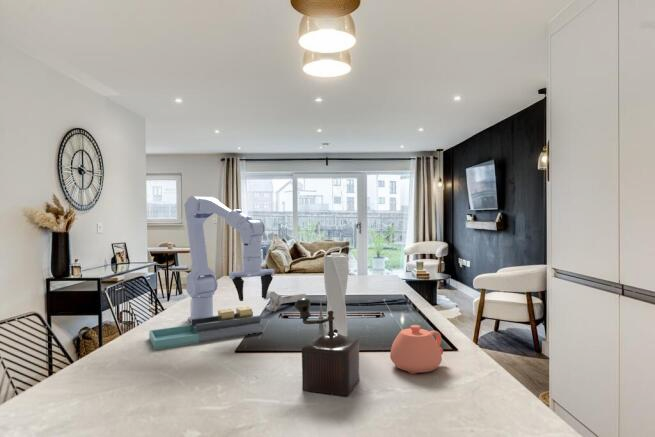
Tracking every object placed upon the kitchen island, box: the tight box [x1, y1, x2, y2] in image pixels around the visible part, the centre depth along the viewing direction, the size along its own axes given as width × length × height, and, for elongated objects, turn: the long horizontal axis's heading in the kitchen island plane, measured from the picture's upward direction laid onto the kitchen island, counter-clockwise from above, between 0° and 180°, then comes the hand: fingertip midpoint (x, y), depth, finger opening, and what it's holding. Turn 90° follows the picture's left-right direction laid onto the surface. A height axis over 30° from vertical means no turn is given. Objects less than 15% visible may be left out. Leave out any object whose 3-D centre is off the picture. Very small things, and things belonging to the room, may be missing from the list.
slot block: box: [189, 311, 264, 344], centre depth 133 cm, size 12×20×5 cm, turn 120°
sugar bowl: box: [389, 324, 444, 375], centre depth 102 cm, size 12×14×10 cm
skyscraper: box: [317, 246, 349, 337], centre depth 123 cm, size 8×8×28 cm
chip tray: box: [148, 324, 200, 351], centre depth 125 cm, size 12×12×2 cm
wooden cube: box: [235, 306, 253, 319], centre depth 136 cm, size 4×4×4 cm
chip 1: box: [217, 308, 235, 321], centre depth 133 cm, size 4×4×4 cm
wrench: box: [264, 290, 307, 313], centre depth 170 cm, size 8×2×30 cm
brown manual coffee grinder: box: [294, 297, 360, 398], centre depth 93 cm, size 16×11×18 cm
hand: (252, 299), depth 134 cm, fingers open, 7 cm apart
